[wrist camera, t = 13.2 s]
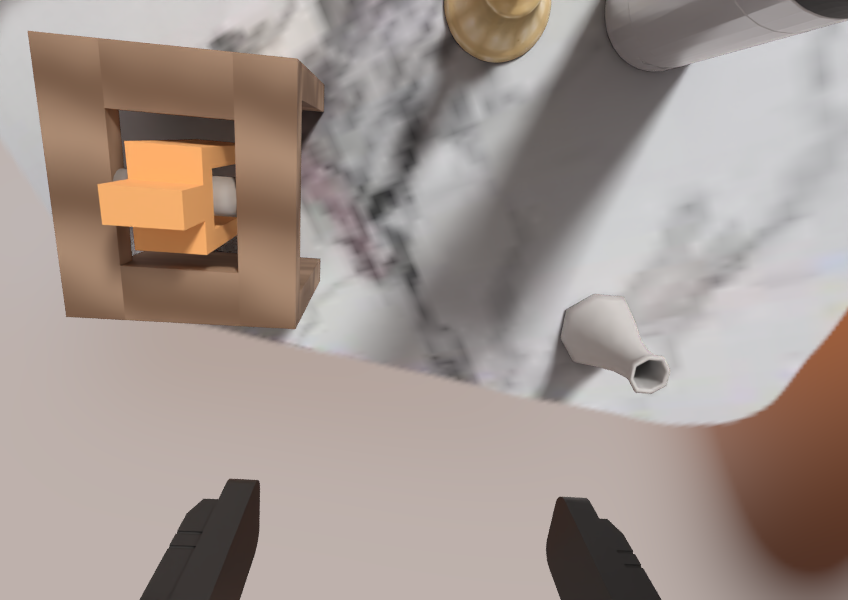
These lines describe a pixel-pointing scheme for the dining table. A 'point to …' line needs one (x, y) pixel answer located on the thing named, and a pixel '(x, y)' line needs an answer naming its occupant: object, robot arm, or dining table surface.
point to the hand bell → (497, 26)
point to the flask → (612, 342)
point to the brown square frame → (233, 197)
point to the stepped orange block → (170, 196)
